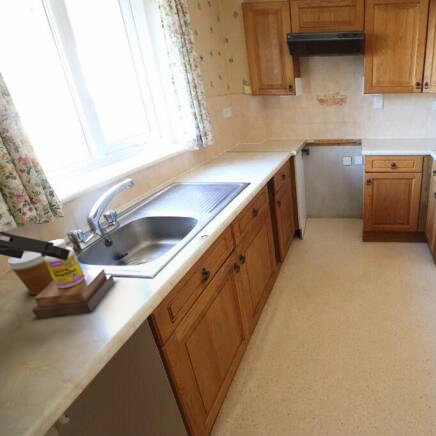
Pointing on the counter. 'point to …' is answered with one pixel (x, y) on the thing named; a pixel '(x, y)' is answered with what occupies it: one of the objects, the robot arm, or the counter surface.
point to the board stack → (73, 295)
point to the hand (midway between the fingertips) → (44, 254)
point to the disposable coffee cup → (31, 271)
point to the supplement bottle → (64, 267)
